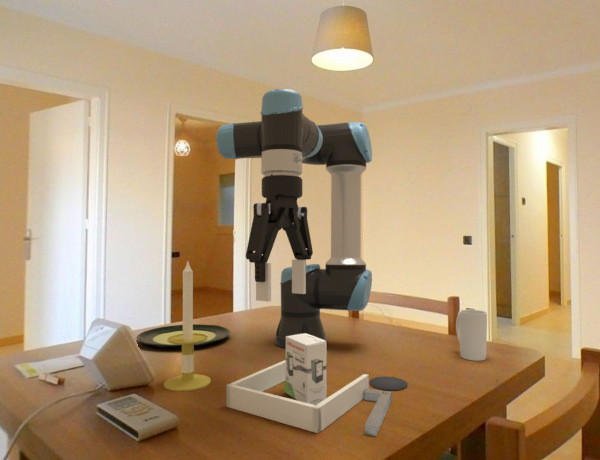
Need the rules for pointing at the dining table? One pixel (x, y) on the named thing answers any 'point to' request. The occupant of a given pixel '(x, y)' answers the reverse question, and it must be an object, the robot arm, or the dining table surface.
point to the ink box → (306, 368)
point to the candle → (187, 343)
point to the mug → (472, 334)
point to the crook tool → (377, 409)
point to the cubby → (291, 400)
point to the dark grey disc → (388, 383)
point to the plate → (163, 333)
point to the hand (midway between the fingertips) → (282, 296)
